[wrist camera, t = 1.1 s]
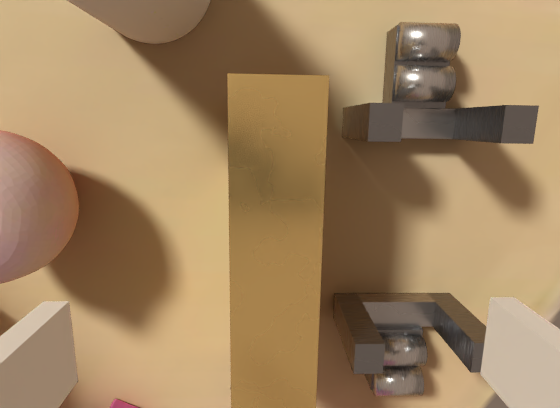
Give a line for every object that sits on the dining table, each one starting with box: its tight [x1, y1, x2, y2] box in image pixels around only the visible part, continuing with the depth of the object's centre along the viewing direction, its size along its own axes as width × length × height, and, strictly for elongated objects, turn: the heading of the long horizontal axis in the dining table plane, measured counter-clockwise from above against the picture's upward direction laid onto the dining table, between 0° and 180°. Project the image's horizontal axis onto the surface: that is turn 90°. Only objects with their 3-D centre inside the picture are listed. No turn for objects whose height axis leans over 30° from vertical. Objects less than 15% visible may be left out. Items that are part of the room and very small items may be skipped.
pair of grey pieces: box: [334, 22, 539, 396], centre depth 26 cm, size 9×26×7 cm, turn 179°
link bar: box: [227, 73, 329, 408], centre depth 24 cm, size 4×18×10 cm, turn 179°
